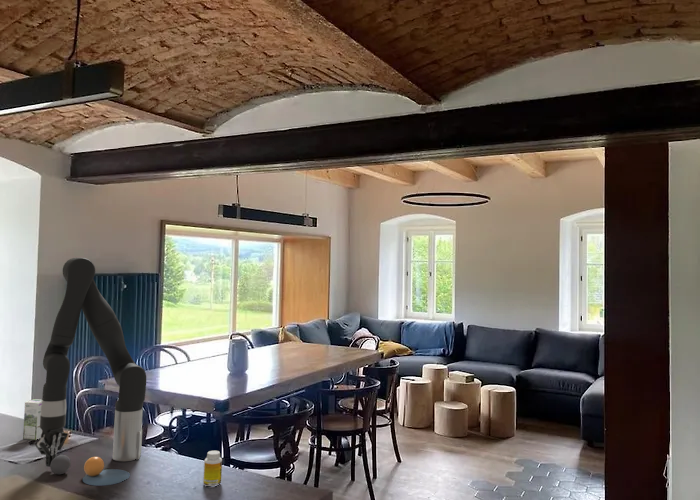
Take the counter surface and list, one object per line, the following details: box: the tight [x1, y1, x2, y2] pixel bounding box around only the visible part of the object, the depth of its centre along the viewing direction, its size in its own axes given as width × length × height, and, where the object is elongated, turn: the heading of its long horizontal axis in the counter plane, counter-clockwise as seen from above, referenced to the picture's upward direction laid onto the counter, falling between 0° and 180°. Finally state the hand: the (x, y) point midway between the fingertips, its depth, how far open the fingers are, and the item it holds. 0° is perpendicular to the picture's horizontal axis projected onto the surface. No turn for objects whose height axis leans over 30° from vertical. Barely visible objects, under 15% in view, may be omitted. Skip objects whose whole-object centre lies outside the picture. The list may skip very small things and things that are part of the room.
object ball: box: [83, 456, 105, 476], centre depth 184 cm, size 6×6×6 cm
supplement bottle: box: [202, 450, 223, 487], centre depth 180 cm, size 6×6×10 cm
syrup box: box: [22, 398, 42, 441], centre depth 221 cm, size 6×6×14 cm
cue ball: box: [49, 454, 72, 475], centre depth 184 cm, size 6×6×6 cm
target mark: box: [82, 468, 131, 487], centre depth 183 cm, size 14×14×1 cm
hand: (50, 465), depth 187 cm, fingers closed
